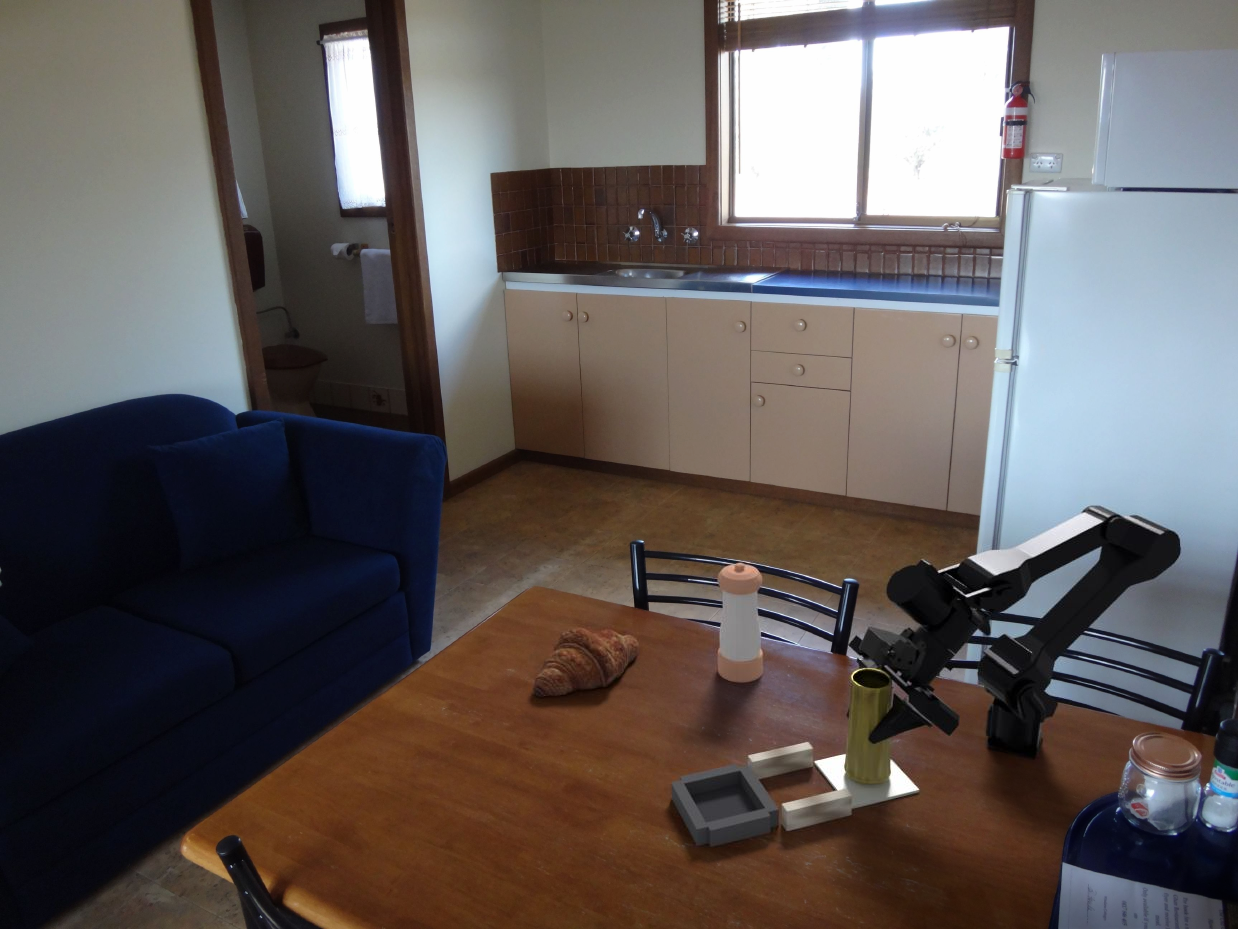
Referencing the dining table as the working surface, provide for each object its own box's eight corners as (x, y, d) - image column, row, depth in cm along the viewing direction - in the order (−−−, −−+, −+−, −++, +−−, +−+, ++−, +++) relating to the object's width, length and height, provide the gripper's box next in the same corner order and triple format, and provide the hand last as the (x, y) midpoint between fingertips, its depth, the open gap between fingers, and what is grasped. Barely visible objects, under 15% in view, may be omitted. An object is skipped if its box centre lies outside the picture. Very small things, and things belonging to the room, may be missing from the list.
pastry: (553, 645, 166) (550, 604, 163) (641, 648, 164) (639, 606, 161) (532, 699, 150) (528, 655, 147) (628, 703, 148) (626, 658, 145)
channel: (807, 760, 132) (808, 742, 131) (851, 815, 121) (852, 795, 120) (747, 774, 130) (747, 755, 129) (786, 831, 119) (787, 811, 118)
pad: (878, 748, 134) (878, 746, 134) (919, 792, 125) (919, 789, 124) (814, 763, 131) (814, 761, 131) (850, 809, 122) (850, 806, 122)
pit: (746, 777, 129) (746, 761, 128) (781, 829, 119) (781, 813, 118) (669, 794, 126) (669, 779, 126) (699, 850, 116) (698, 833, 115)
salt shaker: (765, 682, 151) (766, 573, 145) (719, 683, 151) (718, 574, 145) (759, 658, 158) (760, 553, 152) (716, 659, 158) (714, 555, 152)
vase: (892, 787, 124) (897, 692, 119) (844, 783, 125) (847, 689, 121) (889, 758, 130) (894, 667, 125) (843, 755, 131) (846, 664, 126)
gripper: (862, 579, 129) (788, 665, 130) (943, 643, 112) (857, 742, 113) (910, 620, 134) (839, 703, 135) (995, 688, 117) (913, 782, 118)
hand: (859, 730), depth 125 cm, fingers closed on vase, 5 cm apart
